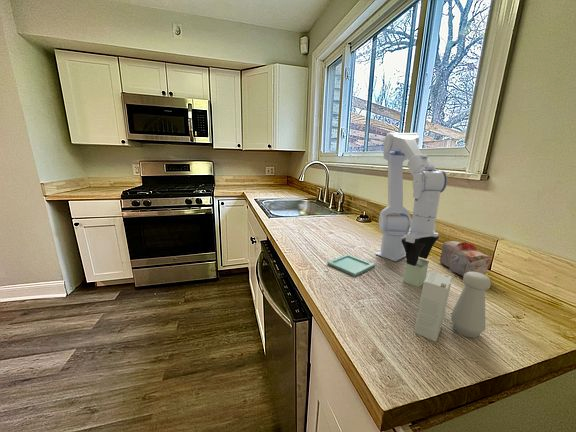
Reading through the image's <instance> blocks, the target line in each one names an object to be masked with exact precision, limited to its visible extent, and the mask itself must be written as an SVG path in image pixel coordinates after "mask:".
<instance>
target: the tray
mask: <svg viewBox="0 0 576 432" xmlns="http://www.w3.org/2000/svg"><path fill="white" fill-rule="evenodd" d="M326 264H327V265H328V266H330V267H331V268H332V267H333V268H335V269H336V270H339V271H341V272H343V273H346V274H347V275H350V276H353V278H354V277H355V278H356V277H358V276H360V275H361V274H364V273H365V272H367V271H369V270H372V269H373V268H375V266H376V264H375V263H373V262H370V261H368V260H365V259H362V258H359V257H357V256H355V255H351V254H349V253H347V254H344V255H342V256H339V257H337V258H334V259H332V260H329V261H327V263H326Z"/></svg>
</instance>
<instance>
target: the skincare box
mask: <svg viewBox="0 0 576 432" xmlns="http://www.w3.org/2000/svg"><path fill="white" fill-rule="evenodd" d="M427 273H428V274H426V279H425V281H424V283H423V284H422V289H421V294H420V299H419V302H418V303H419V304H418V308H417V314H416V319H415V324H414V330H413V332H414V333H415V334H418V335H420V336H422V337H423V338H425V339H429V340H430V341H433V342H437V341H438V338H439V335H440V332H441V328H442V326H443V322H444V317H445V313H446V308H447V304H448V299H449V295H450V290H451V285H452V281H453V276H450V275H446V274H444V273H443V274H442V273H438V272H435V271H429V272H427Z"/></svg>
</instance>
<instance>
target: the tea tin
mask: <svg viewBox="0 0 576 432" xmlns="http://www.w3.org/2000/svg"><path fill="white" fill-rule="evenodd" d="M429 262H430V261H429V260H427V259H424V258H421V257H419V258H418V261H417V264H416V266H413V265H410V264H407V259H405V261H404V263H405V265H404V270H403V271H404V272H403V278H402V282H404V283H407V284H409V285H413V286H415V287H417V288H419V287H421V286H423V284H424V281H425V279H426V277H427V273H428V272H427V271H428V266H429Z"/></svg>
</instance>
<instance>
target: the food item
mask: <svg viewBox="0 0 576 432" xmlns="http://www.w3.org/2000/svg"><path fill="white" fill-rule="evenodd" d="M477 248H478V247H477V246H476V245H475V244H474V243H469V242H467V241H465V242H461V241H455V240H451V241H450V240H447V241H444V242H443V243H442V247H441V254H440V258H439V263H440V264H442V265H444V266H446V267H447V268H448V269H449V272H452V273H456V274H458V275H460V276H461V277H462V278H463V277H464V274H465V273H467V272H478V273H482V274H484V275H486V273H487V272H488V269H489V266H490V262H491V259H492V257H491V256H490V255H487V254H485V253H483V252H481V251H479V250H477Z"/></svg>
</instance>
